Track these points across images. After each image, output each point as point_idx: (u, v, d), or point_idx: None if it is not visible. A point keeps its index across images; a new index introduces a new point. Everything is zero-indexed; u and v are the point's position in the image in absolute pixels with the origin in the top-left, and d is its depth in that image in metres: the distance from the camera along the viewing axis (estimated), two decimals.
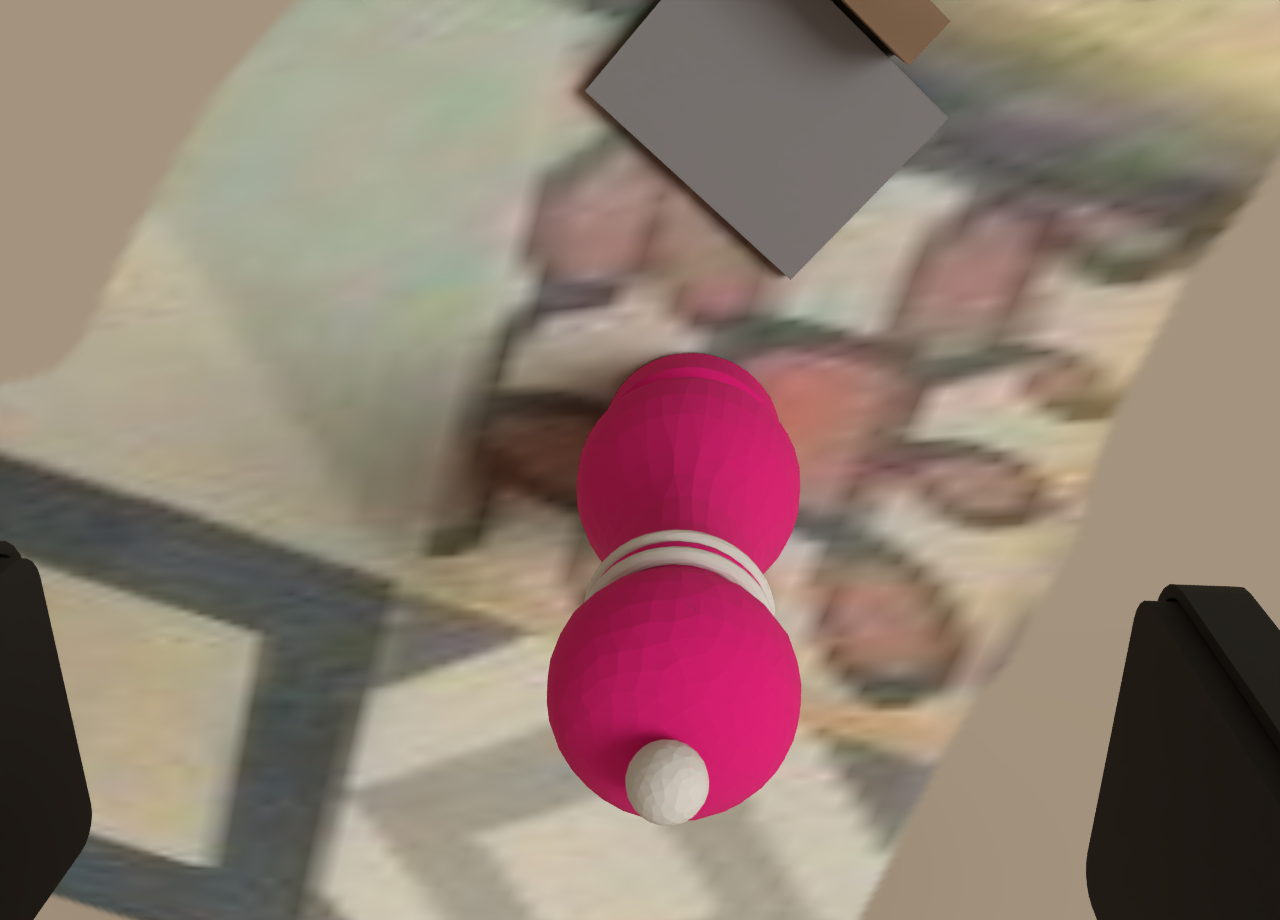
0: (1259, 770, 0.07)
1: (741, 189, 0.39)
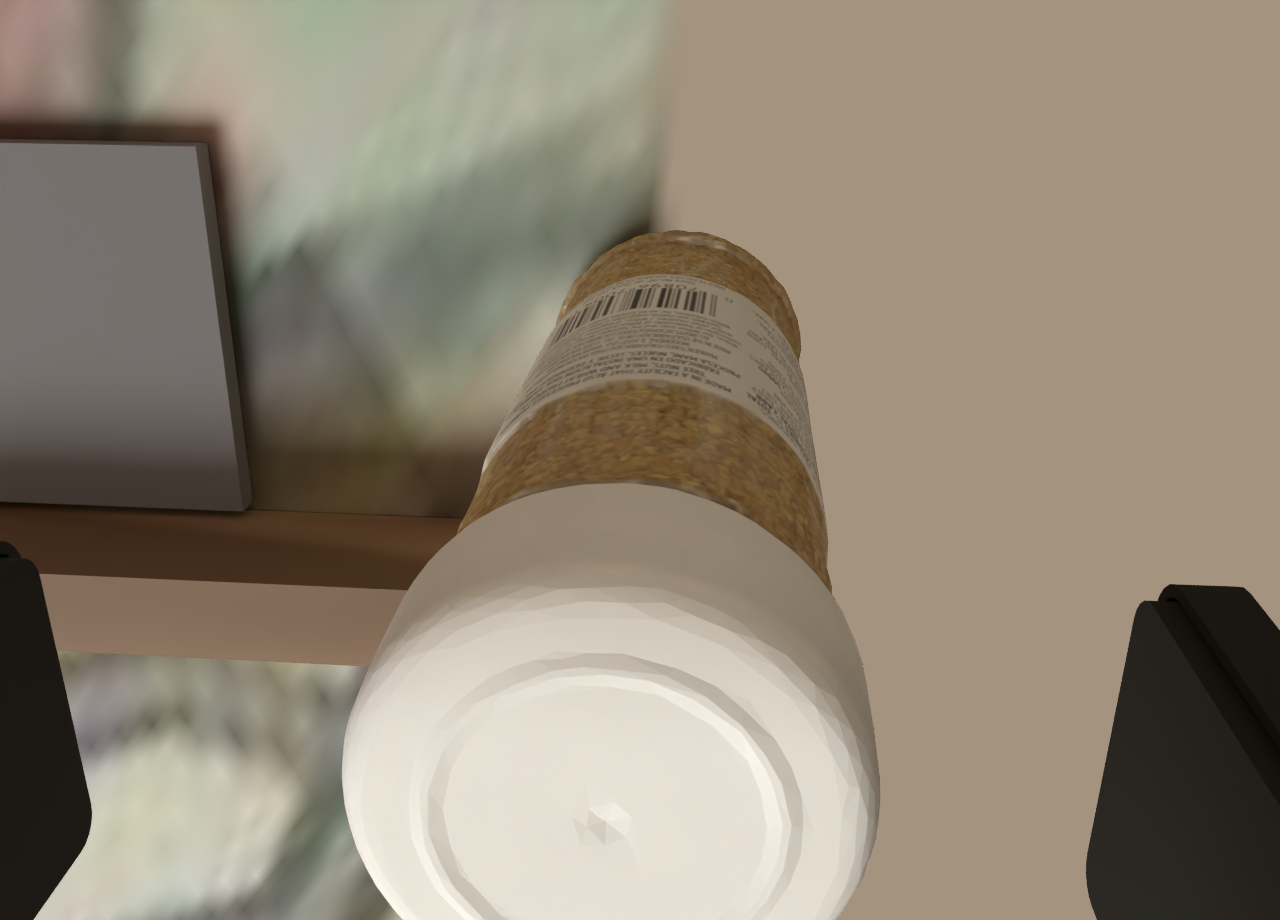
0: (1259, 770, 0.07)
1: None
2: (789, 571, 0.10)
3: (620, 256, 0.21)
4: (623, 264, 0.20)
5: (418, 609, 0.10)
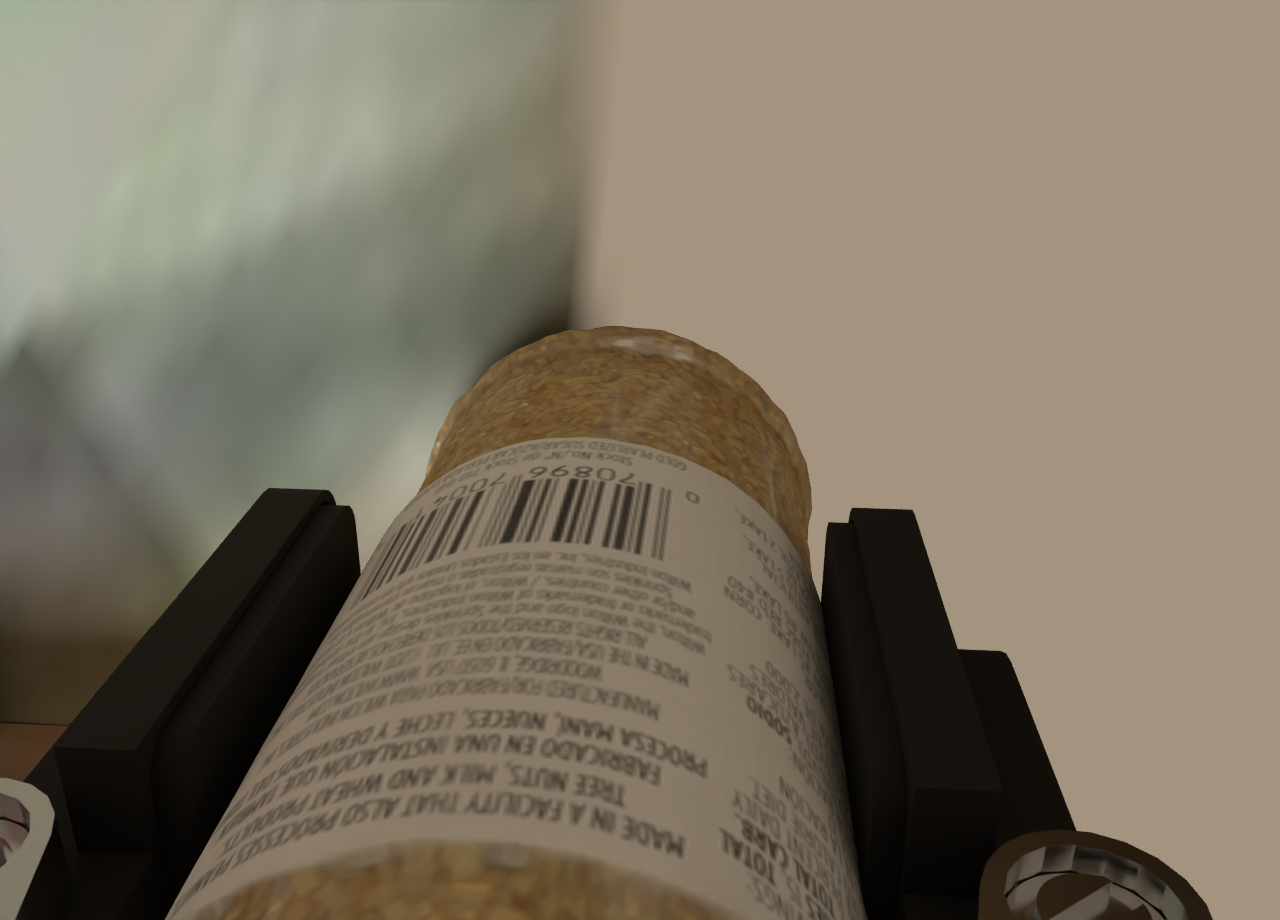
0: (856, 650, 0.09)
1: None
2: None
3: (521, 371, 0.13)
4: (521, 394, 0.12)
5: None
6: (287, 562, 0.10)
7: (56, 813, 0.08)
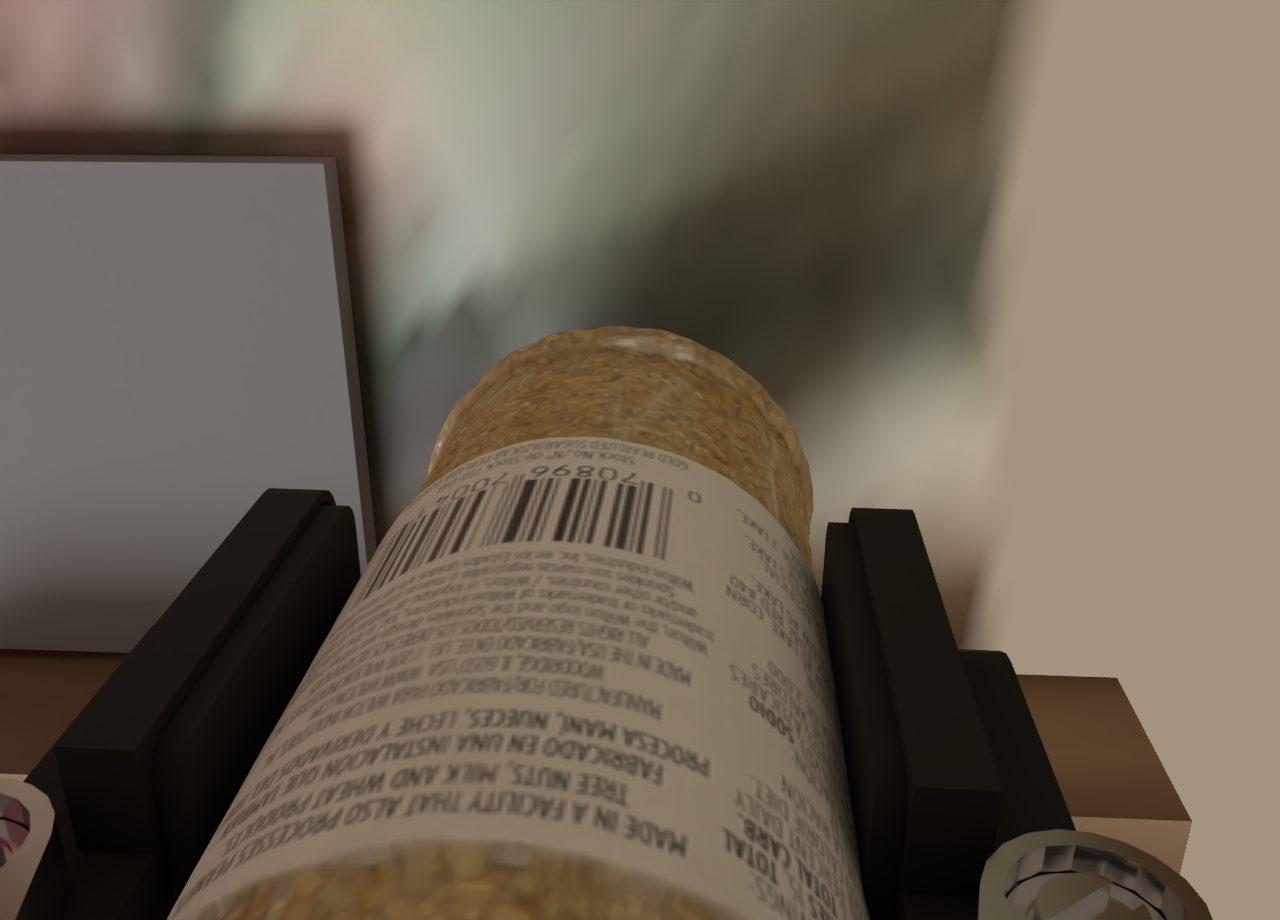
0: (857, 650, 0.09)
1: None
2: None
3: (523, 371, 0.13)
4: (522, 394, 0.12)
5: None
6: (287, 562, 0.10)
7: (56, 813, 0.08)
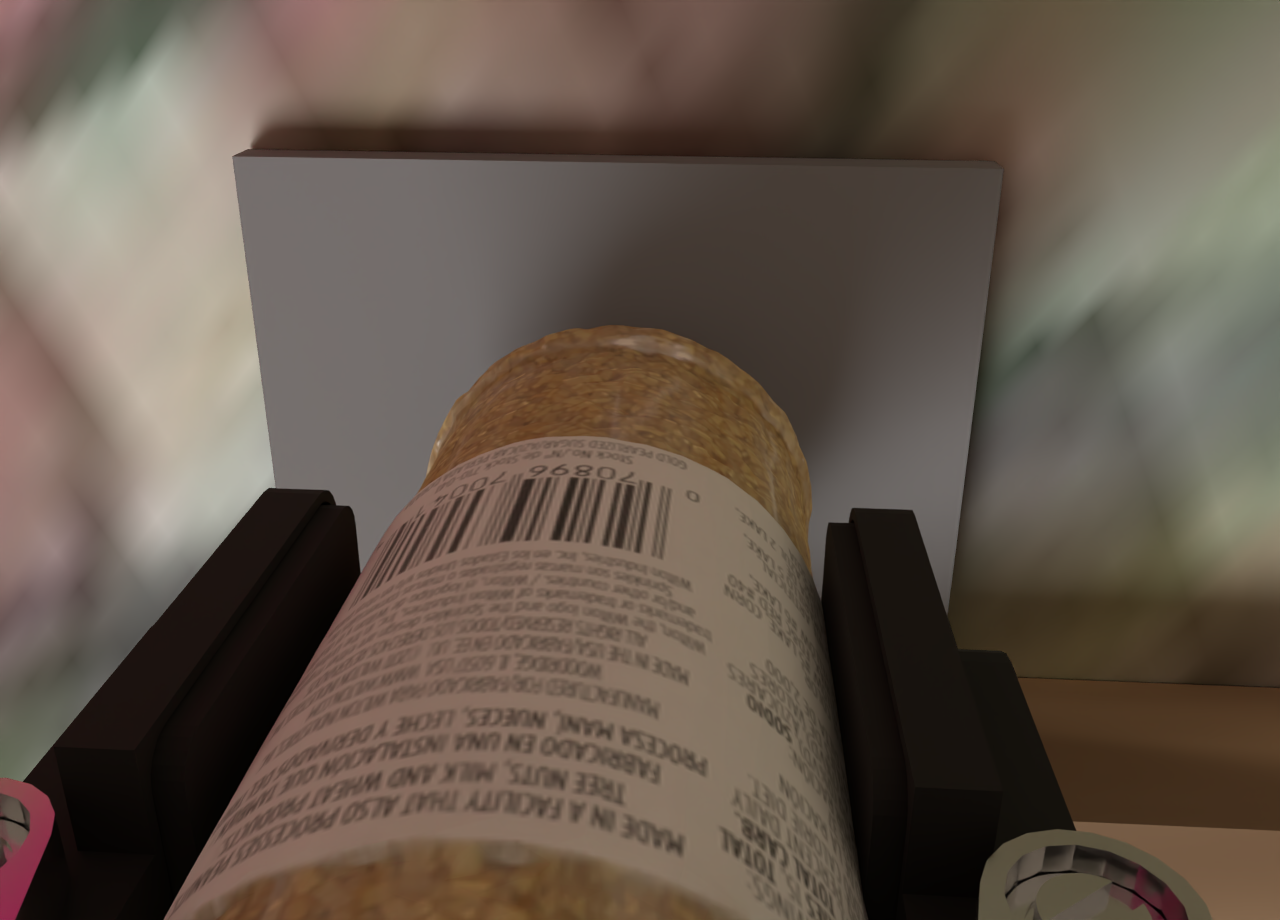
0: (856, 650, 0.09)
1: (507, 250, 0.14)
2: None
3: (522, 370, 0.13)
4: (522, 393, 0.12)
5: None
6: (287, 562, 0.10)
7: (56, 813, 0.08)
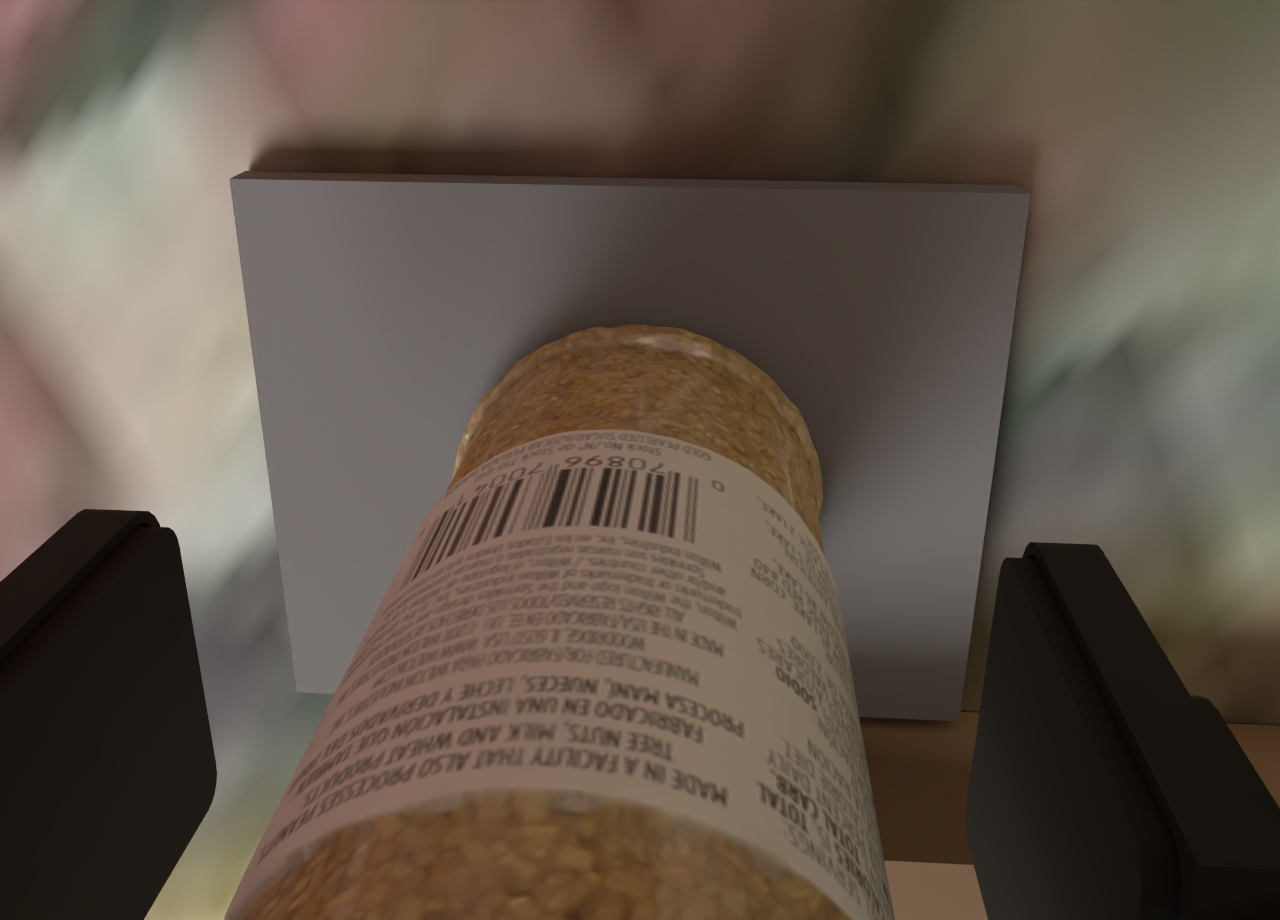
0: (1078, 703, 0.08)
1: (514, 276, 0.14)
2: None
3: (548, 367, 0.13)
4: (550, 389, 0.13)
5: None
6: (82, 589, 0.09)
7: None
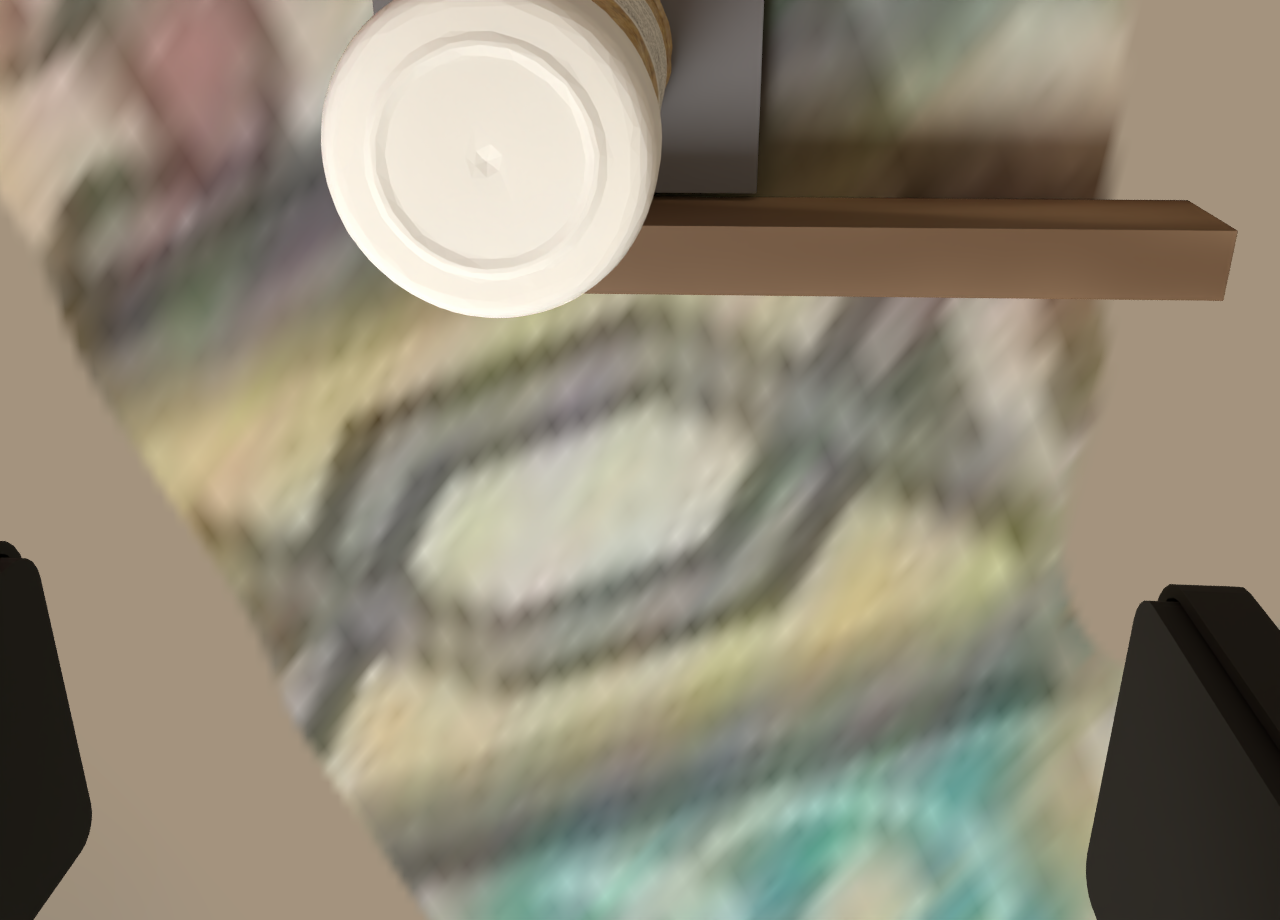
0: (1260, 770, 0.07)
1: None
2: (601, 13, 0.16)
3: None
4: None
5: (366, 23, 0.16)
6: None
7: None
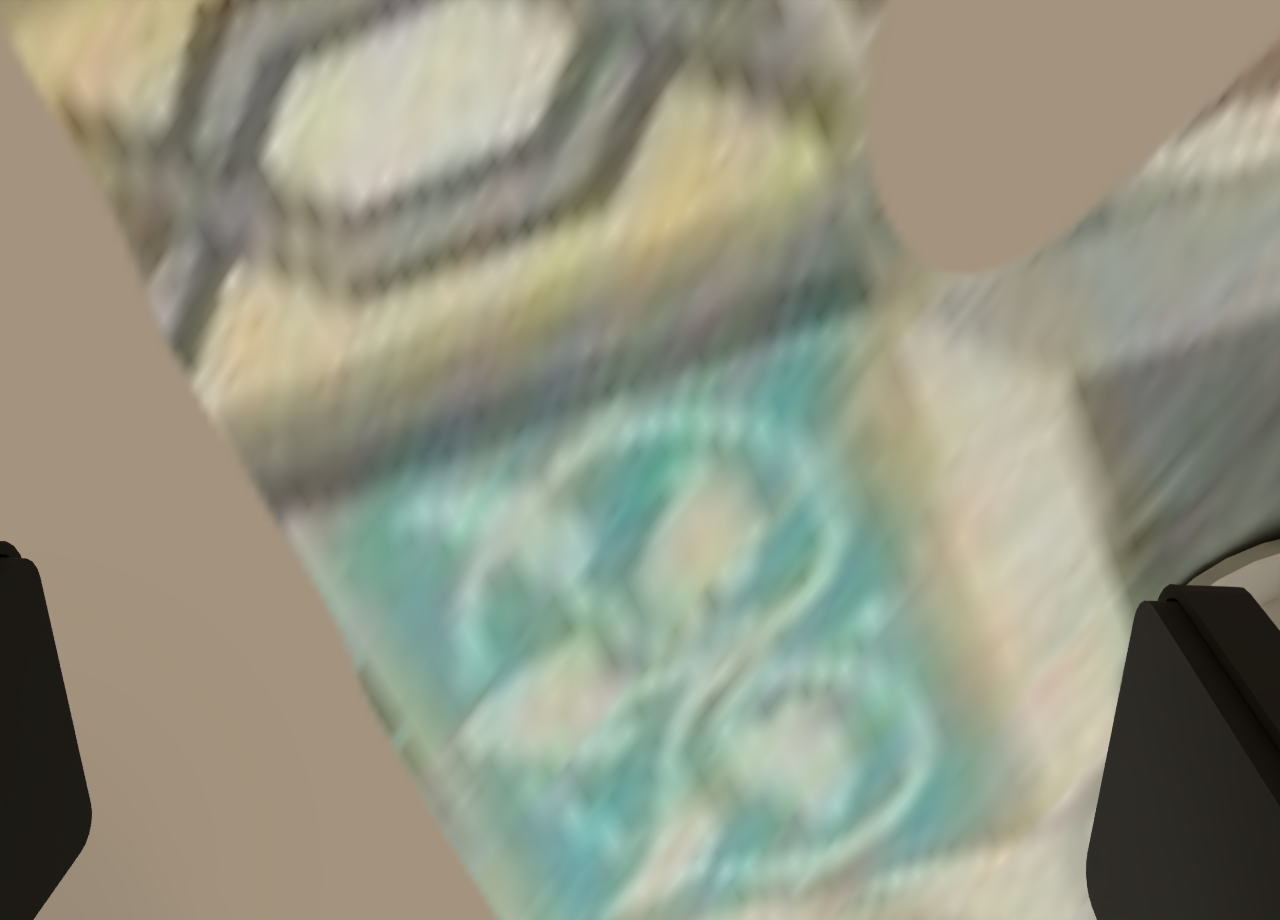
0: (1260, 770, 0.07)
1: None
2: None
3: None
4: None
5: None
6: None
7: None
